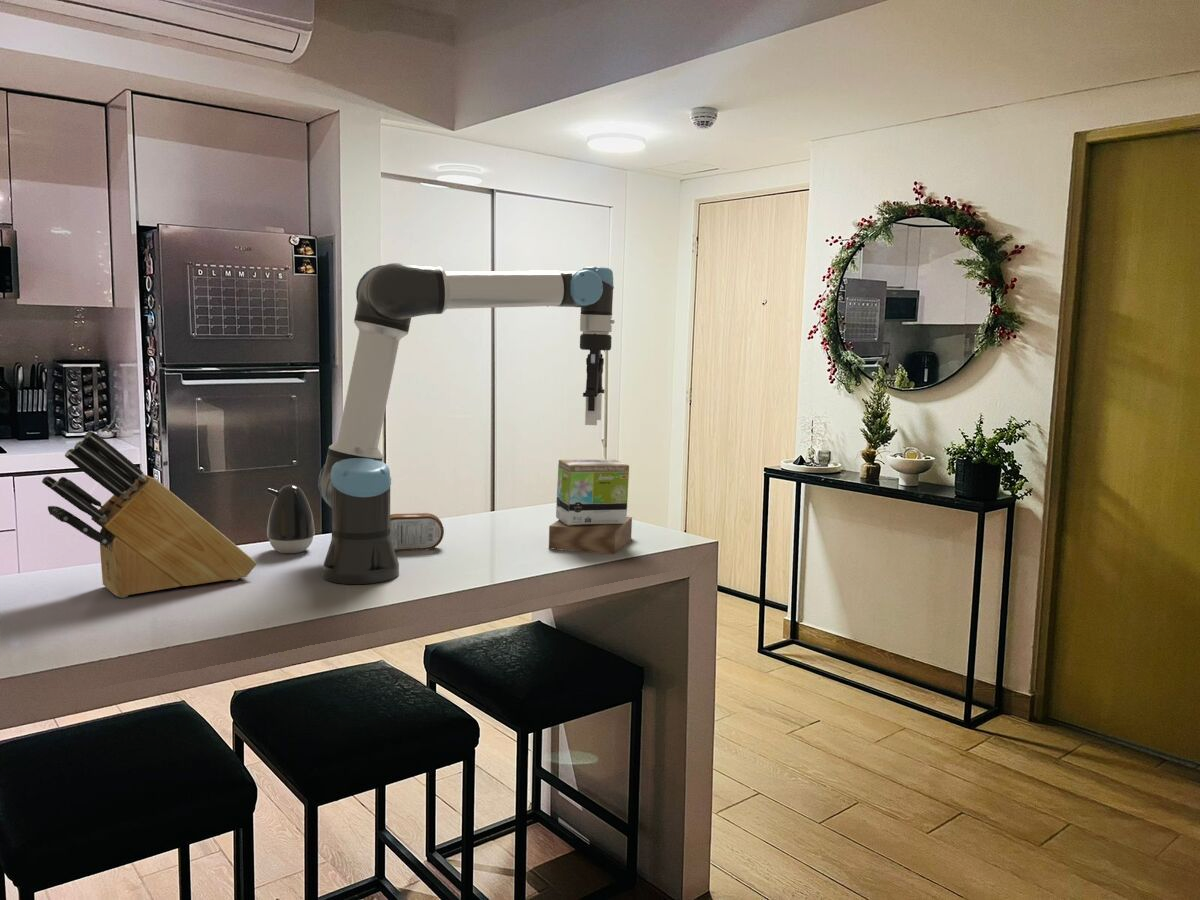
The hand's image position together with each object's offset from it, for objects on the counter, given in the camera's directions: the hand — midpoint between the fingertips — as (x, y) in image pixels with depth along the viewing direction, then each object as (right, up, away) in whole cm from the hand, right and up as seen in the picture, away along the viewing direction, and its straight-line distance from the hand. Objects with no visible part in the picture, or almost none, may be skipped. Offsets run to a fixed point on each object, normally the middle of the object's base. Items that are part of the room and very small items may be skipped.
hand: (593, 422), depth 223 cm
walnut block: (-1, -30, +3) cm, 30 cm away
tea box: (-1, -24, +2) cm, 24 cm away
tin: (-42, -30, -9) cm, 52 cm away
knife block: (-84, -33, -44) cm, 101 cm away
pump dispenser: (-68, -30, -13) cm, 76 cm away
